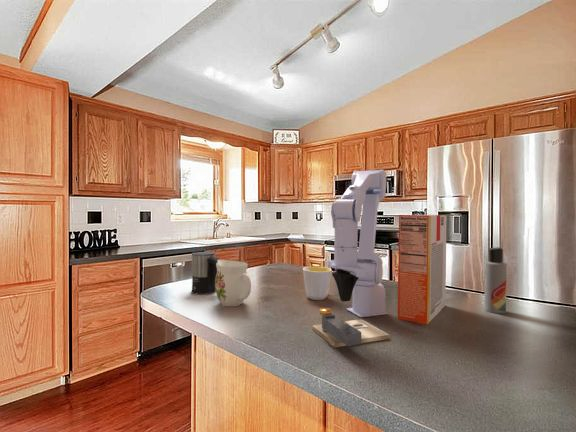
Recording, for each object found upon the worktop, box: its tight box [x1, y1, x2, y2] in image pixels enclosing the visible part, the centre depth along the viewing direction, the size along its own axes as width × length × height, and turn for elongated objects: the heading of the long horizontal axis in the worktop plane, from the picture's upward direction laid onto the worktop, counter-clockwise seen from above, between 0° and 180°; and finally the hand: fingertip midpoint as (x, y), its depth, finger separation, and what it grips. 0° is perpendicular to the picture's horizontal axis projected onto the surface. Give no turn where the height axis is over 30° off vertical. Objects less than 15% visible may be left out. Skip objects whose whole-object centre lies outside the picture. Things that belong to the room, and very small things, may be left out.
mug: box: [302, 266, 333, 301], centre depth 117 cm, size 14×10×10 cm
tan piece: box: [312, 315, 390, 348], centre depth 82 cm, size 15×12×5 cm
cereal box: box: [397, 214, 448, 325], centre depth 101 cm, size 23×8×30 cm, turn 143°
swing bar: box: [319, 307, 362, 347], centre depth 76 cm, size 14×4×4 cm, turn 21°
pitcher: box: [215, 259, 252, 307], centre depth 107 cm, size 11×18×14 cm, turn 43°
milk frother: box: [191, 251, 221, 295], centre depth 126 cm, size 14×16×15 cm
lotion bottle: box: [483, 247, 507, 314], centre depth 102 cm, size 6×6×20 cm
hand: (345, 300), depth 82 cm, fingers closed
